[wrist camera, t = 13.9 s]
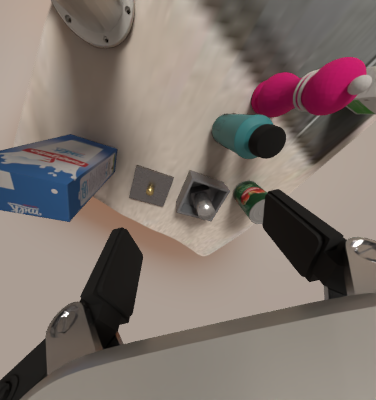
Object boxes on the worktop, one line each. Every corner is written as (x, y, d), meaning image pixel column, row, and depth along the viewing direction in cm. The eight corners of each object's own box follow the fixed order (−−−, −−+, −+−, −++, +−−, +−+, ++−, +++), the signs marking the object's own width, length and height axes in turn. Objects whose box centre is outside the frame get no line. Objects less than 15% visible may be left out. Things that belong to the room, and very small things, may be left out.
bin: (176, 201, 44) (176, 212, 40) (189, 169, 39) (192, 177, 35) (207, 210, 47) (211, 221, 43) (223, 182, 42) (230, 191, 38)
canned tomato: (245, 205, 48) (263, 228, 39) (228, 195, 45) (242, 217, 36) (262, 187, 45) (286, 207, 36) (245, 175, 42) (266, 193, 33)
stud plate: (129, 196, 42) (126, 203, 38) (137, 164, 37) (134, 169, 34) (162, 205, 44) (162, 212, 41) (173, 177, 40) (173, 182, 37)
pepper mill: (285, 80, 31) (426, 42, 14) (272, 118, 35) (369, 125, 18) (255, 75, 30) (366, 27, 13) (244, 115, 34) (320, 118, 17)
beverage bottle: (215, 147, 37) (253, 178, 20) (205, 121, 33) (240, 132, 17) (238, 134, 36) (300, 155, 19) (230, 106, 32) (297, 101, 15)
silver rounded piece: (189, 187, 42) (194, 207, 33) (206, 183, 41) (215, 202, 33) (192, 202, 44) (198, 223, 36) (209, 198, 44) (218, 218, 36)
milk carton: (71, 160, 35) (-22, 206, 18) (70, 134, 32) (-43, 159, 15) (115, 172, 37) (69, 222, 21) (117, 148, 34) (67, 185, 18)
